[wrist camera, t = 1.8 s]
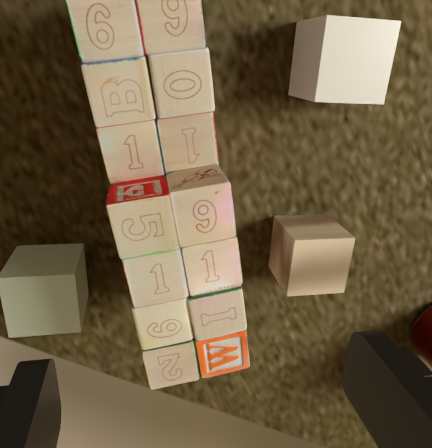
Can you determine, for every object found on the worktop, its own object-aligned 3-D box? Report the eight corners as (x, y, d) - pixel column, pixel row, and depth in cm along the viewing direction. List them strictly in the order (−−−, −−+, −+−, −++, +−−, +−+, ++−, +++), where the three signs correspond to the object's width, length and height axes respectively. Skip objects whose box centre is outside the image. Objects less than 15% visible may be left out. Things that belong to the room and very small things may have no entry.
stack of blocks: (87, 8, 25) (45, -30, 14) (182, -1, 26) (215, -44, 15) (146, 284, 34) (149, 395, 23) (215, 271, 35) (251, 372, 23)
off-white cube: (296, 21, 27) (327, 14, 23) (359, 26, 28) (401, 21, 24) (287, 95, 29) (314, 102, 25) (347, 97, 30) (383, 104, 26)
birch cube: (273, 215, 33) (294, 240, 29) (326, 214, 34) (355, 237, 30) (267, 265, 35) (286, 296, 31) (318, 263, 36) (343, 292, 32)
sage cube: (17, 245, 30) (-4, 278, 26) (83, 242, 31) (74, 274, 27) (26, 298, 32) (8, 337, 28) (88, 294, 33) (81, 332, 29)
